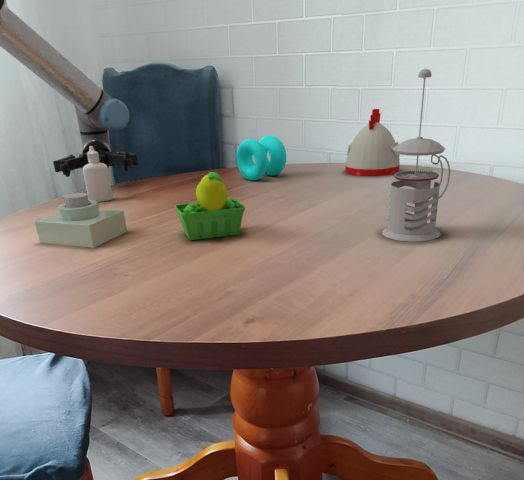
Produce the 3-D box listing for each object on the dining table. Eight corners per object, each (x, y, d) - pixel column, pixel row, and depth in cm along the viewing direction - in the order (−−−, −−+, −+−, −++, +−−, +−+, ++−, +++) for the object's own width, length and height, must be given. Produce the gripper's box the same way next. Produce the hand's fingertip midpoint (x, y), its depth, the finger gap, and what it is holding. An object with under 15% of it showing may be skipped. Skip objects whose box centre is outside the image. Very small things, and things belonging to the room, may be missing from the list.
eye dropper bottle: (93, 198, 128) (83, 145, 123) (116, 198, 127) (106, 144, 122) (85, 202, 125) (74, 147, 119) (108, 202, 124) (99, 147, 118)
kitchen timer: (404, 167, 145) (408, 106, 138) (392, 177, 134) (396, 111, 127) (353, 165, 150) (355, 106, 143) (338, 175, 139) (340, 112, 132)
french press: (370, 231, 94) (378, 70, 82) (420, 220, 99) (435, 66, 87) (408, 245, 87) (423, 70, 75) (461, 232, 91) (483, 66, 79)
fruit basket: (236, 224, 102) (232, 162, 97) (250, 237, 94) (246, 170, 89) (177, 232, 99) (169, 168, 94) (185, 246, 92) (177, 177, 86)
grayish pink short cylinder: (61, 209, 96) (59, 197, 95) (76, 203, 99) (74, 192, 98) (79, 210, 94) (77, 198, 93) (94, 204, 98) (91, 193, 97)
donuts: (289, 176, 141) (288, 135, 136) (262, 183, 135) (260, 140, 130) (262, 172, 147) (260, 133, 142) (235, 179, 141) (232, 138, 136)
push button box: (39, 242, 98) (31, 209, 95) (76, 227, 106) (69, 196, 103) (93, 248, 93) (86, 213, 90) (127, 231, 101) (121, 199, 98)
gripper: (145, 165, 150) (151, 179, 132) (51, 174, 145) (44, 189, 127) (141, 136, 146) (147, 146, 128) (45, 144, 141) (37, 156, 123)
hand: (96, 168), depth 127 cm, fingers open, 13 cm apart
